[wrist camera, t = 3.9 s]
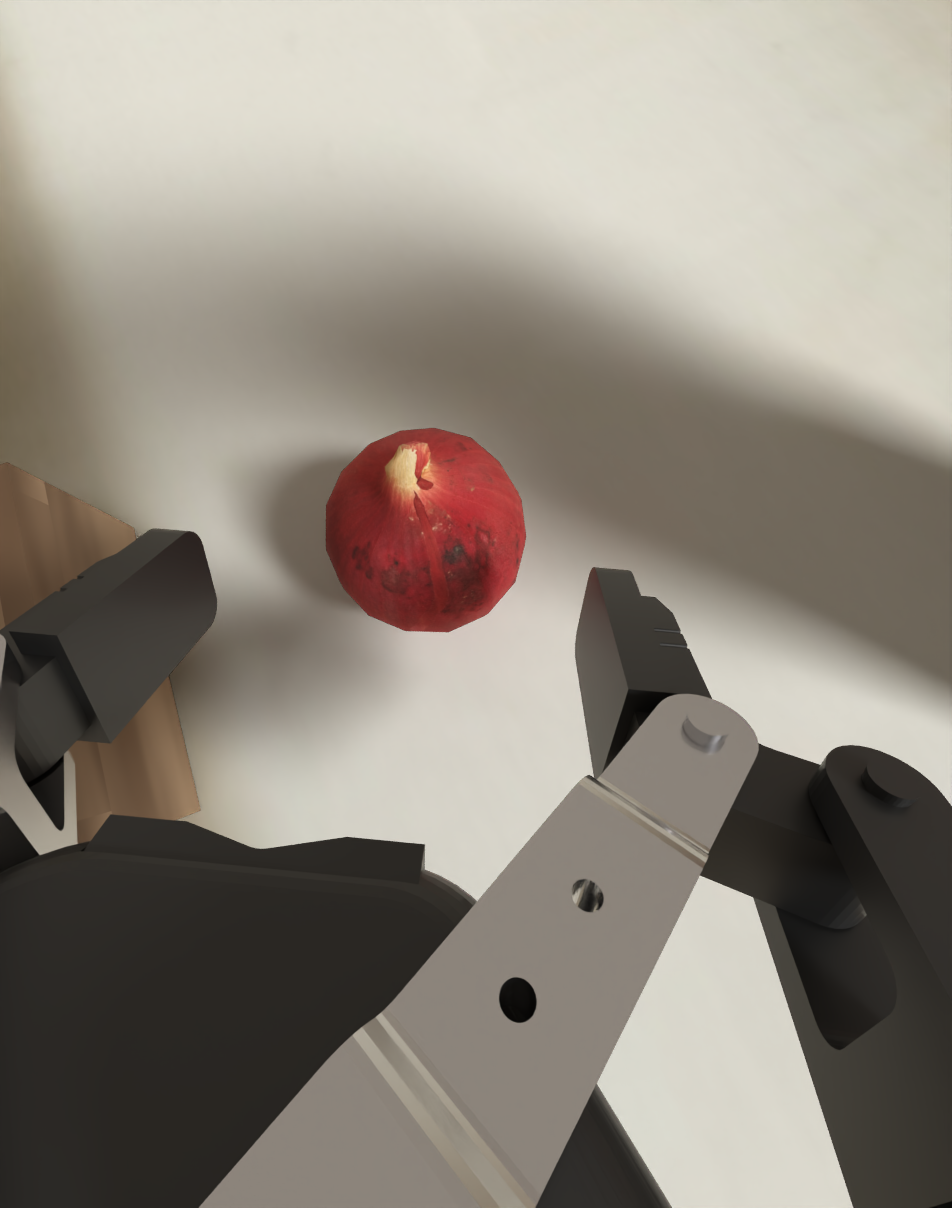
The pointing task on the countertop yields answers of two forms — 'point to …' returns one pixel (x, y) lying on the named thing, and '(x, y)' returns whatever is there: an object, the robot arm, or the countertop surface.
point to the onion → (425, 530)
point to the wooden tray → (42, 566)
